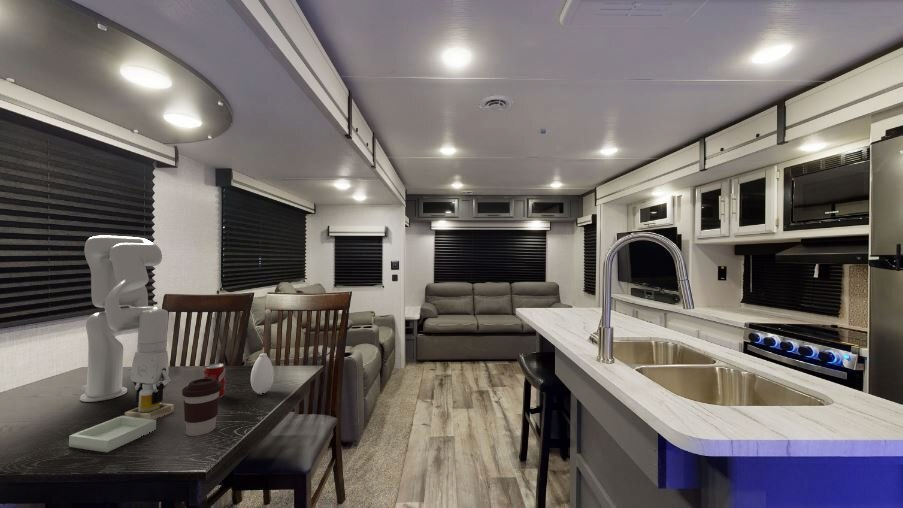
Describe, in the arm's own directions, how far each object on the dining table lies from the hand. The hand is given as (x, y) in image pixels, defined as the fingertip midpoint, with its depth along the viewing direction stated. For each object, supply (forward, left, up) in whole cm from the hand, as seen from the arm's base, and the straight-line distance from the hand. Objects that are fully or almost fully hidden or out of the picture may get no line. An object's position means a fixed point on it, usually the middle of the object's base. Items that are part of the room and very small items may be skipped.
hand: (149, 401), depth 117 cm
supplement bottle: (0, 0, -4) cm, 4 cm away
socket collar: (+1, 0, -5) cm, 5 cm away
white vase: (+22, +26, -5) cm, 34 cm away
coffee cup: (+26, -5, -5) cm, 27 cm away
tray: (+6, -14, -5) cm, 16 cm away
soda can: (+8, +18, -5) cm, 20 cm away
